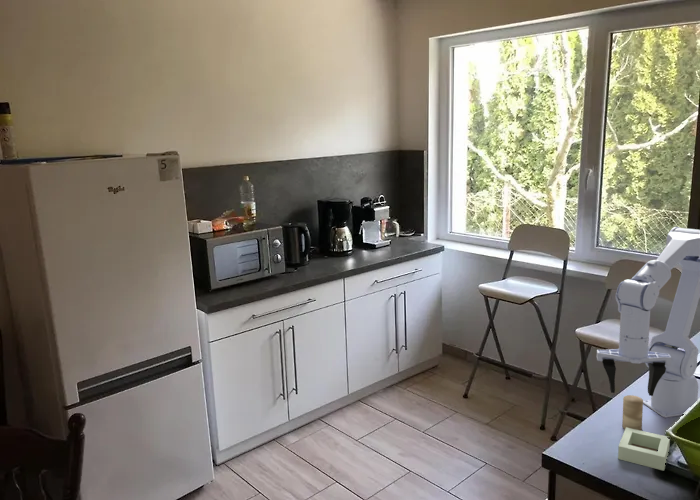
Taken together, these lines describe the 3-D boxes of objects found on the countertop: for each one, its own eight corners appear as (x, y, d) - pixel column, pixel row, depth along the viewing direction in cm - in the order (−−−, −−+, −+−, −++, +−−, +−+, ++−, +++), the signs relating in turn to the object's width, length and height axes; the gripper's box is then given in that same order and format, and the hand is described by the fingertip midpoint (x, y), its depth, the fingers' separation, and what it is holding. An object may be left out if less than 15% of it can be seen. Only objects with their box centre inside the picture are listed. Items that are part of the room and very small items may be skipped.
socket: (625, 439, 126) (626, 427, 125) (669, 449, 121) (670, 437, 120) (618, 458, 119) (618, 446, 118) (664, 470, 114) (664, 457, 113)
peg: (634, 421, 133) (635, 394, 131) (645, 430, 129) (647, 402, 127) (618, 424, 132) (619, 396, 130) (629, 433, 128) (630, 404, 127)
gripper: (600, 339, 122) (597, 397, 125) (676, 343, 118) (671, 403, 120) (596, 327, 129) (594, 383, 131) (668, 331, 124) (664, 388, 127)
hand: (631, 392), depth 126 cm, fingers open, 7 cm apart
